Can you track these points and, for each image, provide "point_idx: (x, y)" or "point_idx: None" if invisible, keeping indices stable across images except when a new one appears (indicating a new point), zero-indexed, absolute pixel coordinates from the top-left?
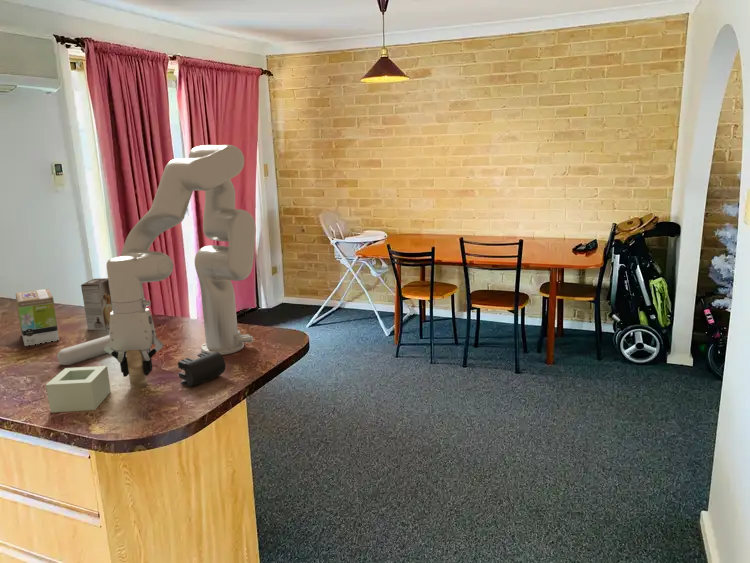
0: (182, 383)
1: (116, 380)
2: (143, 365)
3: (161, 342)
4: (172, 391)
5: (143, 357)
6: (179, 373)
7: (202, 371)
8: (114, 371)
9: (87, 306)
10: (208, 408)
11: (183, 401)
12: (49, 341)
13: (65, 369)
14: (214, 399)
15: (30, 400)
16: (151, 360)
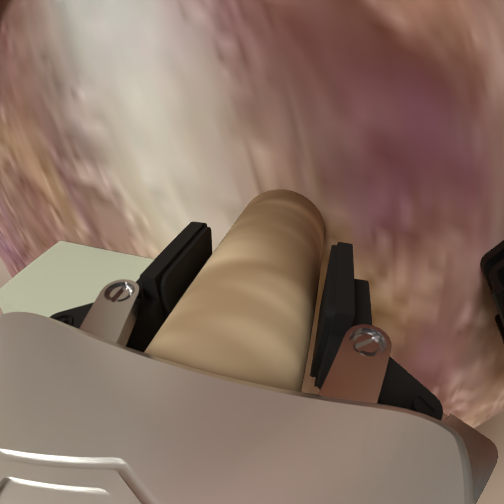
0: (485, 277)
1: (143, 134)
2: (313, 357)
3: (485, 481)
4: (435, 328)
5: (305, 363)
6: (498, 296)
7: None
8: (100, 26)
9: None
10: (482, 420)
11: (448, 392)
12: None
13: (3, 309)
14: None
15: (17, 252)
16: (370, 323)
